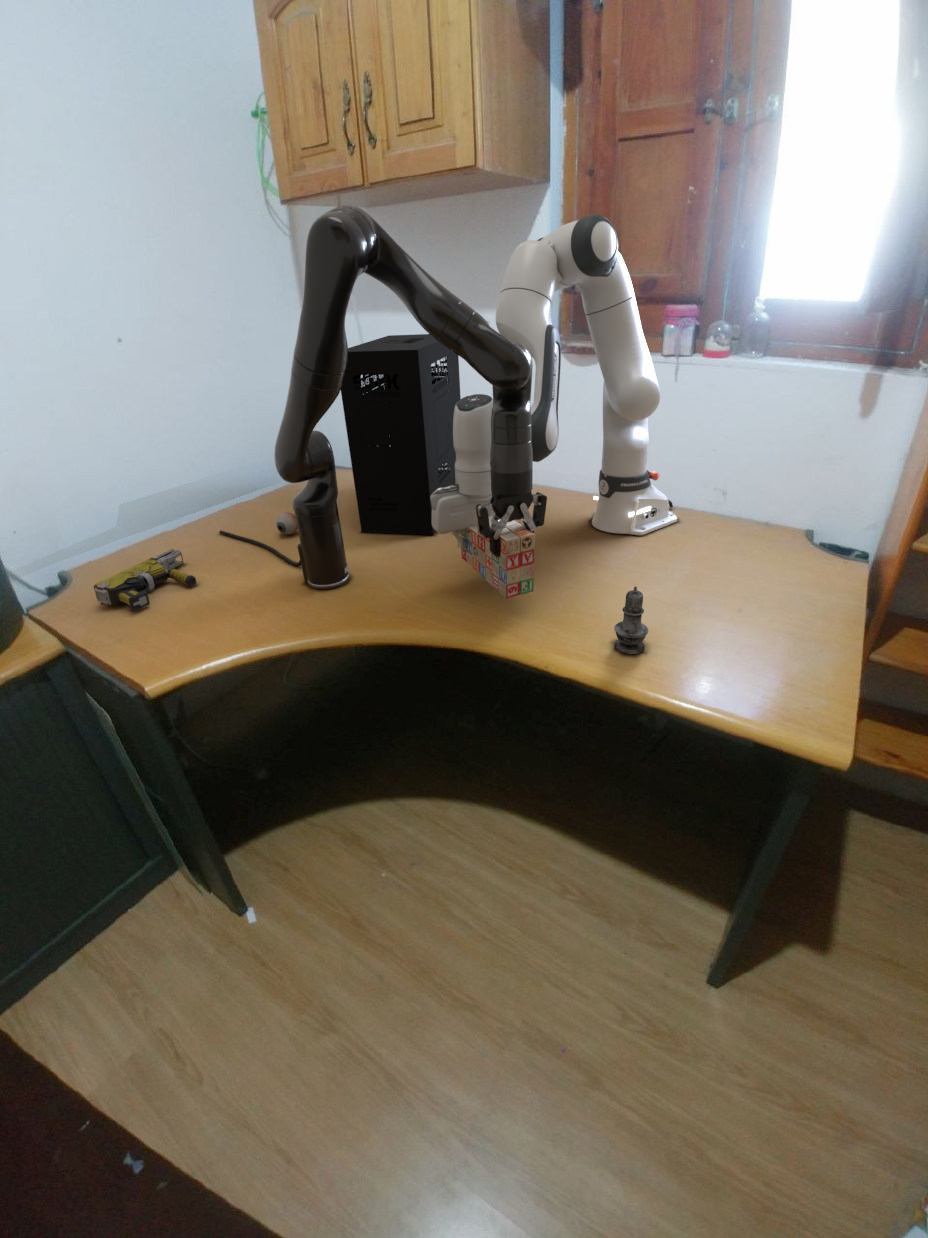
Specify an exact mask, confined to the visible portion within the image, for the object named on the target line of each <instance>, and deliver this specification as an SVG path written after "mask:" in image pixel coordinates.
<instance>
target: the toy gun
mask: <svg viewBox="0 0 928 1238" xmlns="http://www.w3.org/2000/svg"><path fill="white" fill-rule="evenodd" d="M179 557H181V560H177V558H179ZM183 564H184V558H183V552H182V551H181V550H179V549H174V548H171V549H169V550H167V551H164V552H163V553H161V554H159V555H156V556H155V557H150V558H148V559H146V560H144V561H142V562H139V563H138V564H135V565H133V566H131V567H129V568H127V569H125V570H122V571H120V572H118V573H116V574H113V575H112V576H110V577H108V578H106V579H104V580H101V581H99V582H97V583H95V584H93V590H94V594H95V598H96V600H97V603H99V604H100V605H101V606H105V607H107V606H117V605H121V604H127V605H128V606H129V607H130V611H131V612H136V611H138V610H141V609H143V608H145V607H147V606H148V607H149V606H150V599H149V595H148V593H149V592H151V591H154V590H155V586H156V585H159V584H161V583H164V582H165V581H168V579H171V580H174V581H177V582H178V583H182V584H183V585H184V584H185V585H186V586H187V587H193V586H195V585H196V584H197V578H196V576H194V575H192V574H188V573H186V572H184V571H180V570H179V569H176V568H177V567H180V565H183Z"/></svg>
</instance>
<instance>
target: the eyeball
mask: <svg viewBox="0 0 928 1238" xmlns="http://www.w3.org/2000/svg"><path fill="white" fill-rule="evenodd" d="M275 527H276V529H277V530H278V531H279V532H280V533H281V534H282V535H285V536H286V535H287V536H289V535H293V534H295V533H296V532H298V528H297V523H296V518H295V513H292V512H287V511H286V512H282V513H280V514H279V515H278V516H277V517H276V520H275Z"/></svg>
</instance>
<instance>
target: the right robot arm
mask: <svg viewBox="0 0 928 1238" xmlns="http://www.w3.org/2000/svg"><path fill="white" fill-rule="evenodd" d="M574 286H576V287H577V288H578V289H579V291H580V295H581V300H582V301H581V302H582V307H583V311H584V314H585V318H586V322H587V327H588V331H589V334H590V338H591V342H592V346H593V350H594V353H595V355H596V358H597V361H598V364H599V367H600V371H601V375H602V377H603V384H602V453H601V468H600V470H599V474H598V492H599V493H598V496H596V495H593V499H592V500H594V501H597V502H596V507H595V511H594V514H593V517H592V520H591V525H592V526H593V527H594V528H595V529H597V530H599V531H601V532H605V533H611V534H623V535H625V534H626V535H632V536H633V535H634V536H645V535H646V534H650V533H652V532H654V531H657V530H660V529H662V528H665V527H668V526H670V525H672V524H675V523H677V522H678V516H677V515H676V514H675V513H674V512H672V511H670V509H672V508H673V507H674V505H673V502H672V500H670V499H669V498H668V497H667V496H666V495H665V494H664V493H663V492H661V491H660V490H659V489H658V488H656V487H655V486H654V485H652V483H651V480H653V481H658V479H659V478H660V473H659V472H657V471H654V470H651V471H649V470H648V469H647V466H648V458H649V457H648V456H649V446H650V435H649V434H650V433H649V417H650V416H652V414H653V413H655V411H656V410H657V408H658V407H659V404H660V402H661V401H660V400H661V389H660V385H659V381H658V377H657V373H656V370H655V366H654V363H653V359H652V356H651V353H650V349H649V347H648V344H647V342H646V338H645V334H644V331H643V326H642V322H641V318H640V313H639V308H638V304H637V299H636V295H635V290H634V287H633V283H632V279H631V276H630V273H629V271H628V267H627V265H626V263H625V260H624V258H623V256H622V254H621V253H620V252H619V240H618V234H617V231H616V229H615V226H614V225H613V224H612V223H611V221H610V220H609V219H608V218H607V217H606V216H604V215H603V214H589V215H585V216H582V217H581V218H579V219H577V220H573V221H571V222H568V223H565V224H563V225H561V226H559V227H557V228H556V229H555V230H553V231H551V232H550V233H548V234H547V235H545V236H543V237H540V238H538V239H536V240H535V239H531V240H530V239H529V240H526V241H523V242H521V243H519V244H518V245H517V246H516V247H515V248H514V250H513V251H512V253H511V256H510V259H509V261H508V263H507V266H506V269H505V272H504V274H503V278H502V283H501V285H500V290H499V294H498V298H497V303H496V309H495V326H496V330H497V332H498V333H499V334H501V335H502V336H503V337H505V338H506V339H507V340H509V341H515V342H519V343H521V344H523V345H524V346H525V347H526V348H527V349H528V350H529V352H530V354H531V357H532V359H533V360H534V365H535V374H534V388H533V389H534V390H533V401H532V405H530V409H531V443H532V451H533V462H535V463H540V462H541V461H543V460H545V459H546V458H548V457H549V456H550V455H551V454H552V453H553V452H554V451H555V450H556V449H557V446H558V442H559V433H560V432H559V430H560V429H559V428H560V427H559V399H560V398H559V397H560V396H559V395H560V381H561V366H562V365H561V362H562V342H561V336H560V332H559V330H558V329H557V327H555V326H554V325H553V323H552V311H553V305H554V300H555V295H556V291H558V290H563V289H567V288H571V287H574ZM492 408H493V396H490V395H489V394H485V393H483V394H482V393H475V394H470V395H466V396H464V397H462V398H461V399H460V400H459V401H458V402H457V403H456V405H455V409H454V415H453V446H454V450H455V453H456V461H455V483H456V485H451V486H447V487H444V488H443V487H441V488H437V489H436V491H434V492H433V493H432V495H431V497H430V501H431V507H432V527H433V528H434V529H435V530H436V532H437V533H438V534H440V535H444V534H449V533H452V535H453V536H454V538H455V539H456V542H457V548H458V549H459V550H461V549H463V548H467V545H466V544H467V540H465V539H464V538H461V537H460V534H462V530H463V529H468V527H471V526H476V525H477V513H476V505H478V504H481V505H485V504H488V503H490V501H491V498H492V492H491V467H490V450H491V413H492ZM435 493H437V494H435ZM494 513H495V512H494V511H493V510H491V511H490V516H488V517H492V516H493V515H494Z"/></svg>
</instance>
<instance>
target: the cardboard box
mask: <svg viewBox="0 0 928 1238" xmlns="http://www.w3.org/2000/svg"><path fill="white" fill-rule="evenodd" d="M438 361H439V364H438ZM459 361H460V360H459V355H457V354H455V353H454V352H453V351H451V350H450V349H448V348H447V347H446V346H444V345H443V344H442V343H440V342H439V341H438V340H436V339H435V338H434V337H432V336H431V335H430V334H429V333H424V334H423V333H420V334H419V333H417V334H391V335H386V336H383V337H379V338H376V339H373V340H370V341H366V342H363V343H361V344H356V345H354V346H351V347H348V361H347V367H346V371H345V375H344V380H343V384H342V387H341V390H340V394H341V401H342V408H343V416H344V422H345V429H346V438H347V444H348V451H349V456H350V464H351V471H352V477H353V483H354V491H355V497H356V504H357V512H358V518H359V526H360V531H361V533H370V534H371V533H372V534H373V533H374V534H393V535H394V534H397V535H421V536H434V535H435V534H436V532H437V531H436V530H435V529H434V528H433V527H432V507H431V501H430V497H431V495H432V493H433V492H434V491H436V489H437V488H441V487H443V488H444V487H447V486H451V485H456V483H455V461H456V453H455V450H454V446H453V415H454V409H455V405H456V403H457V402H458V401H459V400H460V399H462V398H461V382H460V380H461V379H460V362H459ZM433 364H434V366H433ZM435 494H437V493H435Z"/></svg>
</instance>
